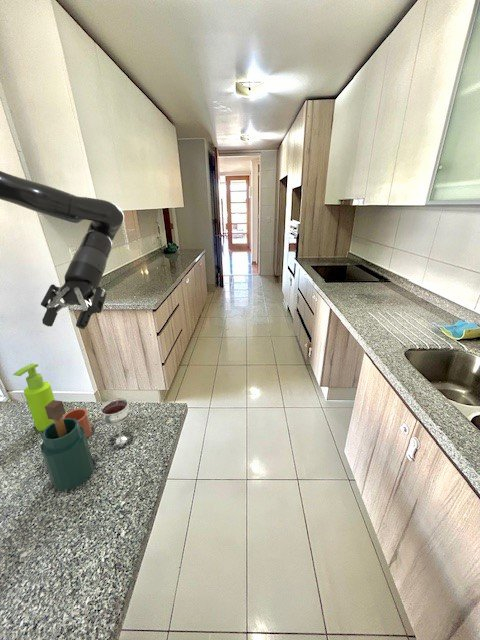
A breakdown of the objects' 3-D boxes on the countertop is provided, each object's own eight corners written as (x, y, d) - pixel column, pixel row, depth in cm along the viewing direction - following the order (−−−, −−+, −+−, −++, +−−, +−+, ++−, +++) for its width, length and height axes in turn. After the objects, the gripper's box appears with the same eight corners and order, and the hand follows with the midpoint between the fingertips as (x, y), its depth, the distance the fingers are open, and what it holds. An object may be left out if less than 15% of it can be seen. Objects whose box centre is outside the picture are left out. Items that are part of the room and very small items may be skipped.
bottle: (44, 488, 58) (26, 441, 53) (71, 458, 66) (58, 413, 61) (77, 494, 57) (63, 445, 52) (101, 462, 65) (90, 417, 60)
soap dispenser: (27, 432, 73) (5, 371, 66) (49, 416, 80) (32, 359, 72) (44, 436, 72) (24, 375, 65) (65, 419, 78) (49, 361, 71)
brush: (64, 477, 60) (41, 407, 53) (73, 466, 63) (52, 398, 56) (75, 478, 60) (54, 408, 53) (83, 468, 62) (64, 400, 55)
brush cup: (62, 442, 70) (56, 422, 68) (77, 427, 76) (72, 407, 73) (82, 445, 69) (76, 424, 67) (96, 429, 75) (91, 409, 72)
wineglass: (102, 443, 70) (94, 407, 66) (125, 428, 75) (119, 394, 71) (116, 456, 66) (108, 419, 62) (139, 439, 72) (133, 404, 67)
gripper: (51, 258, 64) (22, 318, 58) (104, 260, 62) (80, 322, 56) (72, 275, 71) (48, 330, 64) (120, 277, 69) (100, 334, 63)
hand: (63, 326), depth 60 cm, fingers open, 8 cm apart
